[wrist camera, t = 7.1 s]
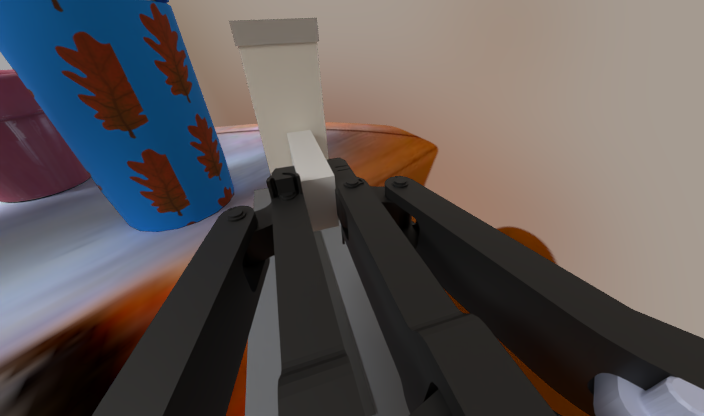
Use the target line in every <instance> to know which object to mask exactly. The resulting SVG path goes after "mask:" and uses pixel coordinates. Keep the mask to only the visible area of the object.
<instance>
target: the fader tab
mask: <svg viewBox="0 0 704 416" xmlns="http://www.w3.org/2000/svg"><path fill="white" fill-rule="evenodd" d="M229 22H230V26H231V30H232V34H233V38H234V42H235V45H236V46H238V48H239V52H240V56H241V60H242V64H243V68H244V72H245V76H246V80H247V84H248V87H249V91H250V95H251V99H252V103H253V107H254V111H255V115H256V119H257V123H258V127H259V131H260V135H261V139H262V143H263V146H264V150H265V154H266V158H267V162H268V166H269V170H270V174H271V173H272V172H273V171H274V169H276V168H282V167H288V166H293V164H292V159H291V154H290V148H289V143H288V138H287V133H290V132H298V131H305V130H311V132H312V134H313V136H314V137H315V139H316V141H317V143H318V145H319V147H320V149H321V151H322V153H323V155H324V157H325V158H326V160H328V159H329V157H328V147H327V137H326V127H325V118H324V108H323V98H322V88H321V79H320V68H319V59H318V49H317V42H318V41H319V37H318V26H317V18H298V19H270V20H240V21H229ZM271 175H272V174H271Z"/></svg>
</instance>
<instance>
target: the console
mask: <svg viewBox="0 0 704 416" xmlns="http://www.w3.org/2000/svg"><path fill="white" fill-rule="evenodd" d="M270 203H271V197H270V193H269V190H268V188H265V189H260V190H254V209H253V210H254V211H258V210H260V209H263V208H265V207H266V206H268V205H269V204H270ZM338 219H339V218H338ZM313 233H314V236H315V240H316V244H317V248H318V251H319V255H320V259H321V262H322V266H323V270H324V274H325V277H326V281H327V285H328V289H329V292H330V296H331V300H332V304H333V307H334V311H335V315H336V318H337V322H338V326H339V330H340V333H341V337H342V341H343V344H344V348H345V351H346V353H347V355H348V357H349V360H350V363H351V366H352V370H353V373H354V377H355V380H356V384H357V388H358V391H359V395H360V399H361V402H362V406H363V410H364V413H365V416H409V415H410V412H409V410H408V407H407V404H406V400H405V397H404V392H403V387H402V382H401V379H400V376H399V373H398V371H397V368H396V366H395V363H394V361H393V359H392V356H391V354H390V351H389V349H388V346H387V344H386V341H385V339H384V336H383V334H382V331H381V329H380V326H379V324H378V321H377V319H376V316H375V314H374V311H373V309H372V307H371V304H370V302H369V299H368V297H367V294H366V292H365V289H364V287H363V284H362V282H361V279H360V277H359V274H358V272H357V269H356V267H355V264H354V262H353V260H352V257H351V255H350V252H349V250H348V247H347V245H346V242H345V244H343V243H342V232H341V223H340V220H339V226H337V227H333V228H328V229H323V230H319V231H314V232H313ZM280 375H281V352H280V336H279V320H278V304H277V287H276V271H275V255H274V256H272V257H270V263H269V267H268V270H267V274H266V277H265V281H264V284H263V288H262V291H261V295H260V298H259V301H258V305H257V308H256V312H255V315H254V319H253V322H252V326H251V329H250V333H249V336H248V355H247V380H246V404H245V416H278V379H279V377H280Z"/></svg>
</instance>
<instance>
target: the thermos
mask: <svg viewBox="0 0 704 416" xmlns="http://www.w3.org/2000/svg"><path fill="white" fill-rule="evenodd" d="M167 2H169V0H0V52H1V53H2V54H3V56H4V57H5V59H6V60H7V61H8V63H9V64H10V65H11V67H12V68H13V70H14V71H15V72H16V74H17V75H18V77H19V78H20V79H21V81H22V82H23V84H24V85H25V86H26V88H27V89H28V90H29V92H30V93H31V95H32V96H33V97H34V99H35V100H36V102H37V103H38V104H39V106H40V107H41V108H42V110H43V111H44V113H45V114H46V115H47V117H48V118H49V120H50V121H51V122H52V124H53V125H54V126H55V128H56V129H57V131H58V132H59V133H60V135H61V136H62V138H63V139H64V140H65V142H66V143H67V144H68V146H69V147H70V149H71V150H72V151H73V153H74V154H75V156H76V157H77V158H78V160H79V161H80V162H81V164H82V165H83V167H84V168H85V169H86V171H87V172H88V174H89V175H90V176H91V178H92V179H93V180H94V182H95V183H96V185H97V186H98V187H99V189H100V190H101V192H102V193H103V194H104V195H105V197H106V198H107V199H108V200H109V201H110V203H111V204H112V205H113V206H114V207H115V209H116V210H117V211H118V212H119V214H120V215H121V216H122V217H123V218H124V220H125V221H126V222H127V223H128V224H129V226H131V227H133V228H135V229H137V230H139V231H152V232H159V231H165V230H171V229H178V228H181V227H184V226H187V225H190V224H193V223H196V222H199V221H201V220H203V219H205V218H207V217H209V216H211V215H212V214H214V213H216V212H218V211H219V210H220V209H221V208H223V207H224V206H225V205H226V204H228V202H229V201H230V199H231V198H232V196H233V195H234V190H233V184H232V181H231V177H230V174H229V170H228V167H227V163H226V160H225V157H224V154H223V151H222V148H221V145H220V143H219V140H218V137H217V134H216V131H215V129H214V126H213V123H212V120H211V117H210V115H209V112H208V109H207V106H206V103H205V101H204V98H203V95H202V92H201V89H200V87H199V84H198V81H197V78H196V75H195V73H194V70H193V67H192V64H191V61H190V59H189V56H188V53H187V50H186V47H185V45H184V42H183V39H182V36H181V33H180V31H179V28H178V25H177V22H176V19H175V17H174V14H173V11H172V8H171V6H170V5H168V4H167Z"/></svg>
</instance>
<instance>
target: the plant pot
mask: <svg viewBox="0 0 704 416" xmlns="http://www.w3.org/2000/svg"><path fill="white" fill-rule="evenodd" d="M90 177H91V176H90V175H89V174H88V172H87V171H86V169H85V168H84V167H83V165H82V164H81V162H80V161H79V160H78V158H77V157H76V156H75V154H74V153H73V151H72V150H71V149H70V147H69V146H68V144H67V143H66V142H65V140H64V139H63V138H62V136H61V135H60V133H59V132H58V131H57V129H56V128H55V126H54V125H53V124H52V122H51V121H50V120H49V118H48V117H47V115H46V114H45V113H44V111H43V110H42V108H41V107H40V106H39V104H38V103H37V102H36V100H35V99H34V97H33V96H32V95H31V93H30V92H29V90H28V89H27V88H26V86H25V85H24V84H23V82H22V81H21V79H20V78H19V77H18V75H17V74H16V72H15V71H14V70H0V201H1V202H20V201H26V200H32V199H37V198H41V197H45V196H49V195H53V194H56V193H59V192H62V191H65V190H67V189H70V188H72V187H75V186H77V185H79V184H81V183H83V182H85V181H86V180H88V179H89V178H90Z"/></svg>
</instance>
